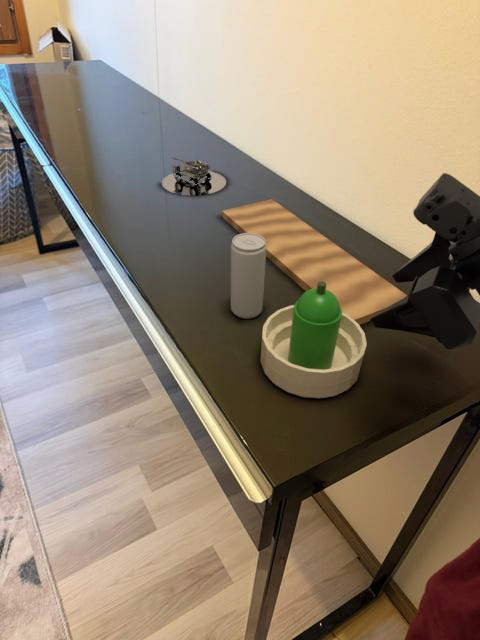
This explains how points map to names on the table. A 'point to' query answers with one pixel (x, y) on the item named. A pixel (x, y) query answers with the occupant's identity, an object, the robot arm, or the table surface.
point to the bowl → (305, 379)
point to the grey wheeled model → (193, 179)
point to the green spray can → (315, 329)
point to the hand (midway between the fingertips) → (384, 299)
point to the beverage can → (247, 274)
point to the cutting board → (314, 259)
